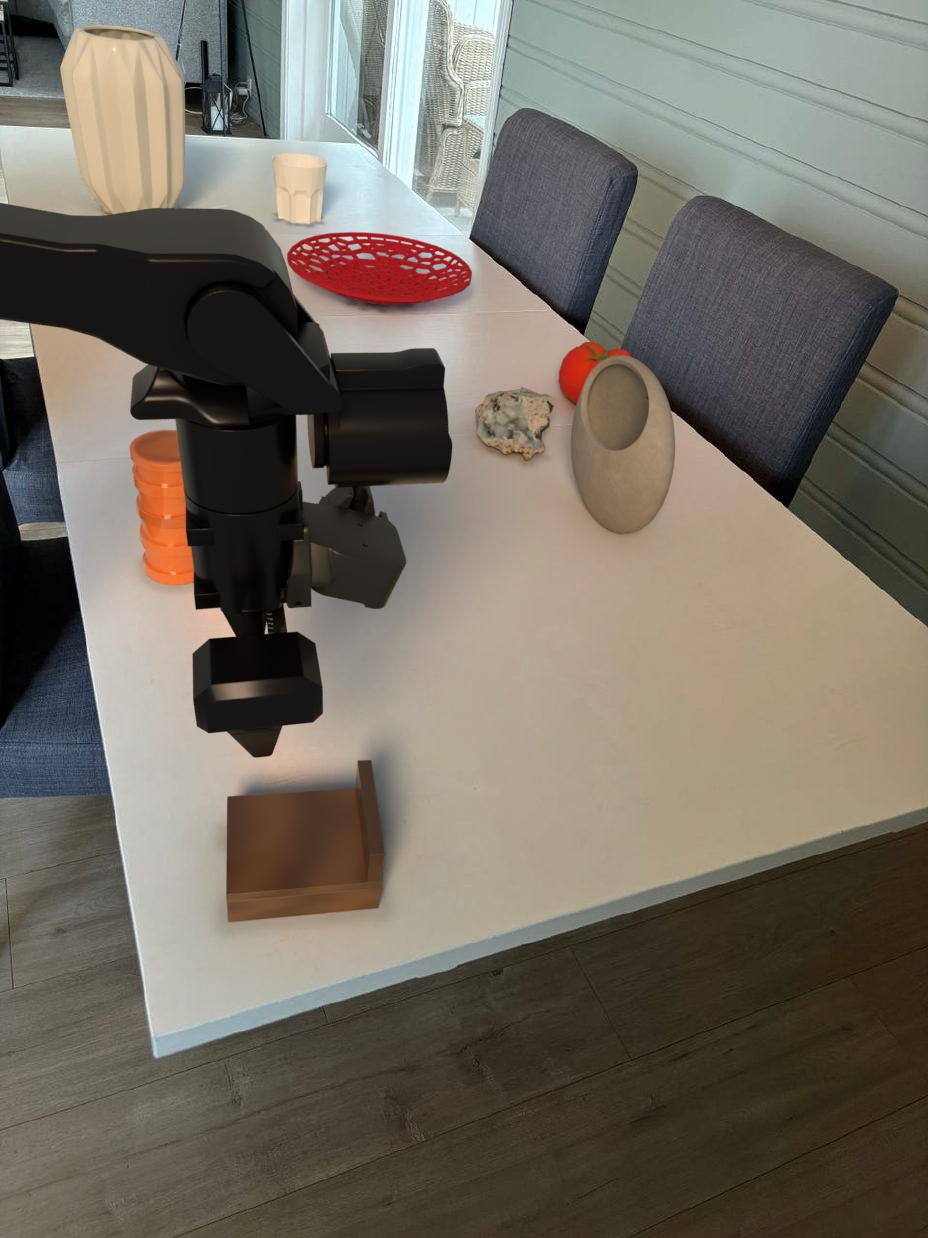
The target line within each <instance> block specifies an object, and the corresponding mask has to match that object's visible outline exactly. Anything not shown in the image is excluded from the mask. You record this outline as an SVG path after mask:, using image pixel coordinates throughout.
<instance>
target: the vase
mask: <svg viewBox="0 0 928 1238" xmlns="http://www.w3.org/2000/svg"><path fill="white" fill-rule="evenodd" d="M59 69H60V77H61V83H62V89H63V95H64V102H65V106H66V112H67V117H68V121H69V127H70V132H71V137H72V142H73V147H74V152H75V157H76V161H77V166H78V169H79V175H80V179H81V181H82V183H83V184H84V186H85V187H86V188H87V189H88V191H89V193H90V194H91V196H92V197H93V199H94V200H95V201H96V203H97V205H99V207H100V208H101V209H102V211H103V212H104V213H105V214H107V215H111V214H117V213H124V212H130V211H137V210H143V209H149V208H175V207H176V205H177V202H178V200H179V197H180V195H181V193H182V191H183V186H184V183H185V178H186V177H185V176H186V95H185V94H186V93H185V76H184V73H183V71H182V69H181V67H180V65H179V63H178V61H177V59H176V58H175V56H174V53H173V52H172V50H171V49H170V47H169V45H168V43H167V42H166V40H165V39H164V38H163V37H162V35H160V34H159V33H157V32H152V31H149V30H146V29H144V28H136V27H135V28H134V27H129V26H125V25H110V24H97V25H92V24H86V25H83V26H78V27H75V28H74V29H73V32H72V34H71V37H70V40H69V42H68V45H67V47H66V50H65V52H64V55H63V58H62V61H61V64H60V68H59Z"/></svg>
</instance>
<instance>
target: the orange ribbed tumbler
mask: <svg viewBox="0 0 928 1238" xmlns="http://www.w3.org/2000/svg"><path fill="white" fill-rule="evenodd" d="M129 457H130V459H131V461H132V463H133V465H132V468H131V472H132V473H131V474H132V481H133V482H132V483H133V486H134V487H135V488H136V490H137V493H138V494H137V496H136V498H135V505H136V513H137V516H138V517H139V519H140V520H141V524H140V525H139V529H138V530H139V531H138V532H139V538H140V539H139V540H140V543H141V546H142V547H143V548H144V552H143V554H142V563H143V564H142V565H143V571H144V573H145V575H146V576H147V577H148V578H150V579H151V580H153V581H154V582H156V583H159V584H162V585H168V586H182V585H189V584H192V583H194V568H193V560H192V552H191V546H188V543H187V535H186V503H185V495H184V485H183V478H182V470H181V462H180V453H179V445H178V437H177V429H176V430H175V429H159V430H153V431H149V432H145V433H142V434H141V435H138V436H137V437H135V438H134V439H133V440H132V441H131V443H130V444H129Z"/></svg>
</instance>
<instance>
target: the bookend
mask: <svg viewBox="0 0 928 1238" xmlns="http://www.w3.org/2000/svg"><path fill="white" fill-rule="evenodd" d="M355 775H356V777H355V787H350V788H333V789H321V790H320V789H319V790H306V791H290V792H276V793H275V792H274V793H261V794H244V795H228V796H227V797H226V861H225V863H226V864H225V865H226V867H225V868H226V869H225V871H226V873H225V877H226V878H225V879H226V880H225V889H226V890H225V899H226V900H225V901H226V912H227V922H228V923H236V922H237V923H238V922H248V921H258V920H269V919H278V918H279V919H280V918H288V917H289V918H290V917H299V916H310V915H321V914H322V915H323V914H332V913H342V912H352V911H353V912H354V911H363V910H372V909H373V910H374V909H379V908H380V900H381V894H382V893H381V891H382V885H383V875H384V866H385V858H386V851H385V844H384V837H383V830H382V823H381V816H380V810H379V809H380V808H379V803H378V794H377V787H376V781H375V775H374V767H373V761H372V760H371V759H362V760H361V759H360V760H357V763H356V774H355Z"/></svg>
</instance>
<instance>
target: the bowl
mask: <svg viewBox="0 0 928 1238" xmlns="http://www.w3.org/2000/svg"><path fill="white" fill-rule="evenodd" d="M344 238H351V239H352V240H347V239H344ZM325 239H326V240H327V239H328V241H320V240H325ZM304 245H306V246H308V247H311V249H306V248H304ZM352 245H358V246H359V248H356V249H351V248H350V247H349V246H352ZM330 246H334V247H336V248H337V249H338V250H337V249H332V248H330ZM299 248H300V249H299ZM298 249H299V250H298ZM437 252H438V253H440V254H437ZM378 253H380V254H378ZM381 253H382V254H385V255H381ZM360 254H367V255H371V256H372V257H373V258H362V257H361V258H360V257H359V256H358V255H360ZM422 254H430V255H431V256H430V257H421V256H420V255H422ZM333 256H336V257H333ZM394 256H403V258H400V257H394ZM322 257H324V258H327V260H325V259H324V258H322ZM348 257H351V258H348ZM449 257H450V259H449V260H446V259H447V258H449ZM412 258H414V259H415V260H417V261H412V260H409V259H412ZM436 259H437V260H436ZM286 261H287V264H288V266H289V268H290V269H291V270H292V271H293V272H294V274H296V275H297V276H298V277H300V278H301V279H303V280H305V281H306V282H308V283H310V284H313V285H314V286H317V287H319V288H321V289H324V290H326V291H328V292H331V293H334V294H336V295H339V296H342V297H345V298H348V299H351V300H355V301H358V302H362V303H366V304H372V305H378V306H402V305H413V304H420V303H427V302H433V301H437V300H442V299H445V298H449V297H453V296H455V295H457V294H459V293H461V292H463V291H465V290H466V289H467V288H468V287H470V285H471V282H472V277H473V270H472V268H471V267H470V265H469V263H467V262H466V261H465V260H464V259H463V258H461V257H460V256H458V255H457V254H455V253H453V252H452V251H450V250H447V249H445V248H443V247H440V246H438V245H436V244H432V243H428V242H426V241H422V240H418V239H414V238H409V237H406V236H400V235H394V234H387V233H378V232H362V231H361V232H359V231H346V232H329V233H322V234H316V235H312V236H309V237H306V238H304V239H301V240H300V241H298V242H296V243H295V244H293V245H291V247H290V249H289V250H288V252H287V253H286ZM454 261H456V262H455V263H453V262H454ZM427 263H429V264H427ZM459 264H460V265H459ZM438 265H445V266H444V267H442V268H438V269H435V268H434V266H438ZM311 266H312V267H311ZM403 266H404V267H403ZM313 267H314V268H313ZM405 267H408V268H405ZM315 268H317V269H319V270H317V269H315ZM418 269H419V270H425V271H426V270H427V271H428V272H426V273H421V272H418V271H417V270H418ZM433 277H434V278H433Z"/></svg>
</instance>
